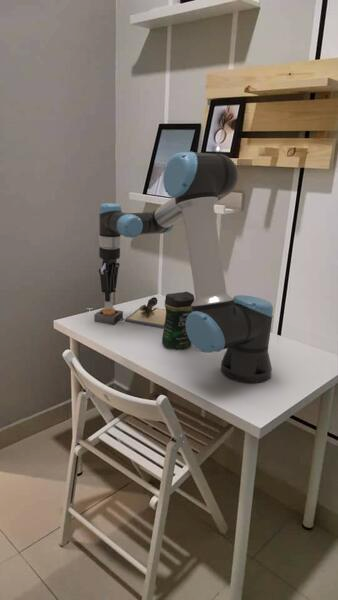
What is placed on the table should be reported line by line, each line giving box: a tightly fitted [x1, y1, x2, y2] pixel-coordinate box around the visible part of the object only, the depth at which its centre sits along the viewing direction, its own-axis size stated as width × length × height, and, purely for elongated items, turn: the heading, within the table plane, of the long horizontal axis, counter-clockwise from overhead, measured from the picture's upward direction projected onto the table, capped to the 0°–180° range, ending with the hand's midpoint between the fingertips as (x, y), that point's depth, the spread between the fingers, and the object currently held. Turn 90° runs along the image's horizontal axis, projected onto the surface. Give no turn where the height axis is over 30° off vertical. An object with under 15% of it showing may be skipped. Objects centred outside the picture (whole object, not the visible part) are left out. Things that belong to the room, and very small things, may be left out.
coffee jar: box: [161, 291, 195, 351], centre depth 156 cm, size 10×8×19 cm
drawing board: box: [123, 307, 166, 330], centre depth 184 cm, size 18×16×1 cm
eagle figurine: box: [139, 296, 158, 318], centre depth 183 cm, size 8×7×9 cm
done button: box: [102, 307, 116, 316], centre depth 178 cm, size 5×5×2 cm
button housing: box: [93, 307, 124, 326], centre depth 179 cm, size 8×8×3 cm
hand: (108, 308), depth 178 cm, fingers closed
